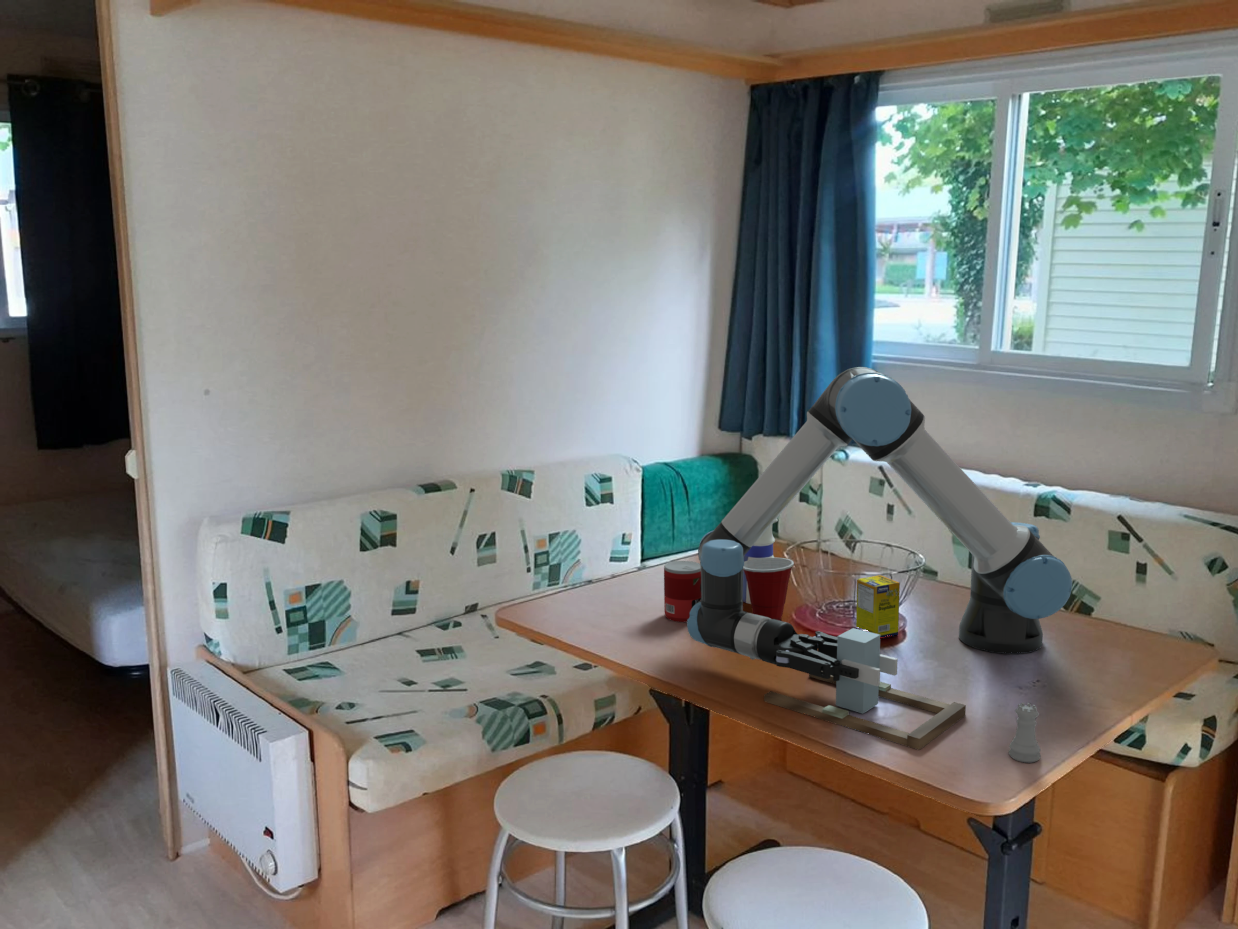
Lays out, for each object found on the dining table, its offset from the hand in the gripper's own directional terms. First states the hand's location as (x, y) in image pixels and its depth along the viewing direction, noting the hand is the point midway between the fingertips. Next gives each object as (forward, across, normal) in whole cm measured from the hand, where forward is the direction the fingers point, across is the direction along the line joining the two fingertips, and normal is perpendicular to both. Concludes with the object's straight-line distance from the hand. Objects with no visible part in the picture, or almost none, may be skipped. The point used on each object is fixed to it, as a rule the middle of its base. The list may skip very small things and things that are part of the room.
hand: (887, 672), depth 171 cm
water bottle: (-50, -36, -8) cm, 63 cm away
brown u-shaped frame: (-5, 0, -7) cm, 9 cm away
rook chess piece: (+23, 0, -8) cm, 24 cm away
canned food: (-56, -17, -8) cm, 59 cm away
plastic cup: (-42, -27, -8) cm, 51 cm away
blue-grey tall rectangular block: (-5, 0, -7) cm, 9 cm away
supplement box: (-20, -33, -8) cm, 39 cm away
